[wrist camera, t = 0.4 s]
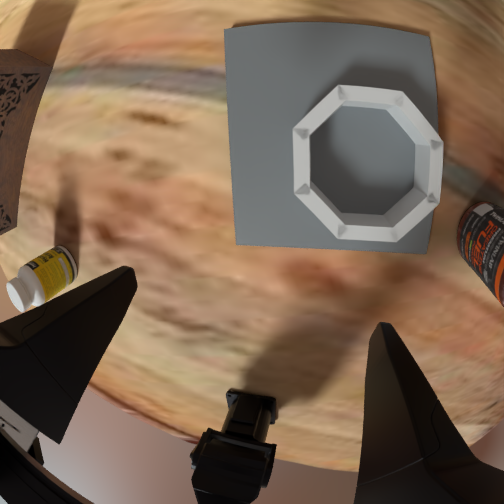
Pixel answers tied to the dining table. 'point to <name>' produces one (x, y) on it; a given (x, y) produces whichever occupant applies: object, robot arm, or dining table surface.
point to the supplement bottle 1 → (42, 278)
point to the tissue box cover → (16, 124)
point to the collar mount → (332, 136)
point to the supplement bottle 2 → (484, 244)
